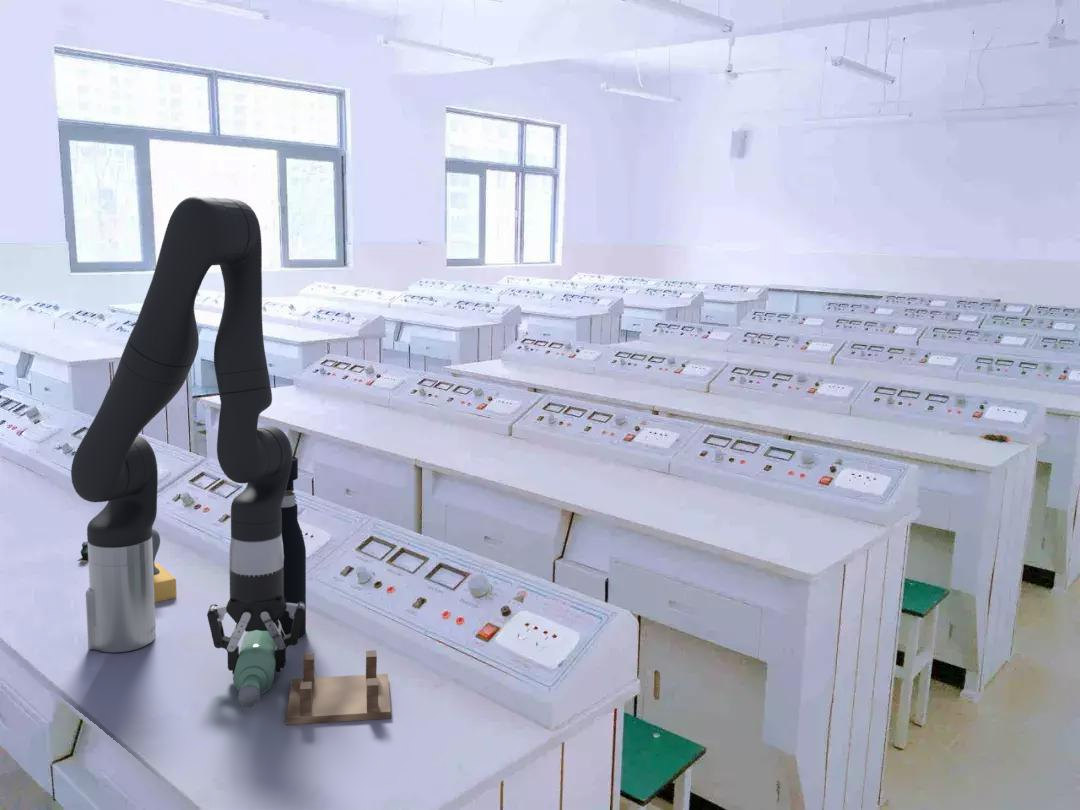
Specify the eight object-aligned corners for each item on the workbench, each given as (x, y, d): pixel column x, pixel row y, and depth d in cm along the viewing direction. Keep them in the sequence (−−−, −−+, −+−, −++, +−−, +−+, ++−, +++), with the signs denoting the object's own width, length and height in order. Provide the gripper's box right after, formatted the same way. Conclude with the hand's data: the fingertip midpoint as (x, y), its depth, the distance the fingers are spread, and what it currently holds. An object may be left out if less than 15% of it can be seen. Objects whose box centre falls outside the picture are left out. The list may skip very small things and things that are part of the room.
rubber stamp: (177, 597, 161) (175, 533, 159) (143, 605, 157) (141, 539, 155) (158, 580, 168) (156, 519, 166) (125, 586, 164) (123, 524, 162)
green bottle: (241, 659, 138) (242, 626, 137) (278, 659, 139) (279, 626, 138) (227, 716, 123) (228, 679, 122) (269, 715, 124) (270, 678, 123)
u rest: (286, 724, 122) (286, 690, 121) (291, 684, 132) (291, 653, 131) (390, 718, 125) (391, 685, 124) (387, 679, 135) (388, 649, 134)
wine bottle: (294, 644, 145) (294, 465, 139) (258, 639, 146) (256, 461, 141) (312, 628, 151) (312, 456, 146) (277, 623, 152) (276, 452, 147)
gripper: (200, 574, 125) (202, 686, 128) (306, 572, 128) (305, 680, 131) (208, 555, 132) (210, 661, 136) (308, 553, 135) (308, 657, 139)
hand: (257, 670), depth 133 cm, fingers closed on green bottle, 5 cm apart
